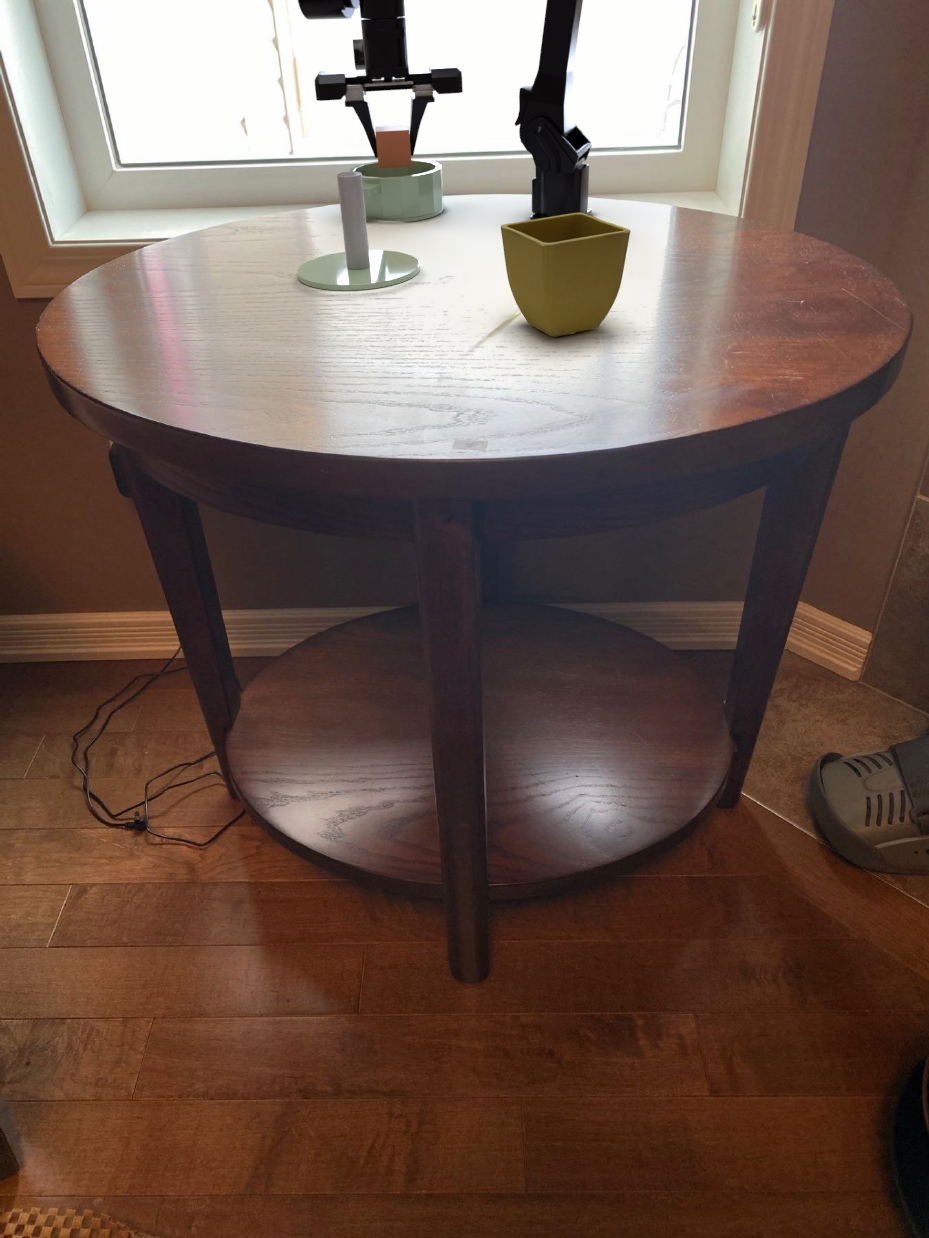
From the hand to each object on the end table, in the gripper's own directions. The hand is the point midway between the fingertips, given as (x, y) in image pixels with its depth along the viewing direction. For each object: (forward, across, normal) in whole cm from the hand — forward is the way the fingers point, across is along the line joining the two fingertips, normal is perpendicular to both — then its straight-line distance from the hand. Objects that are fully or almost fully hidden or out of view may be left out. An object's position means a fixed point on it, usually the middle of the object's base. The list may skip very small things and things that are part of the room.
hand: (394, 156), depth 122 cm
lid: (+6, +5, +31) cm, 32 cm away
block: (+1, 0, 0) cm, 1 cm away
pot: (+7, 0, 0) cm, 7 cm away
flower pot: (+7, -14, +51) cm, 53 cm away
